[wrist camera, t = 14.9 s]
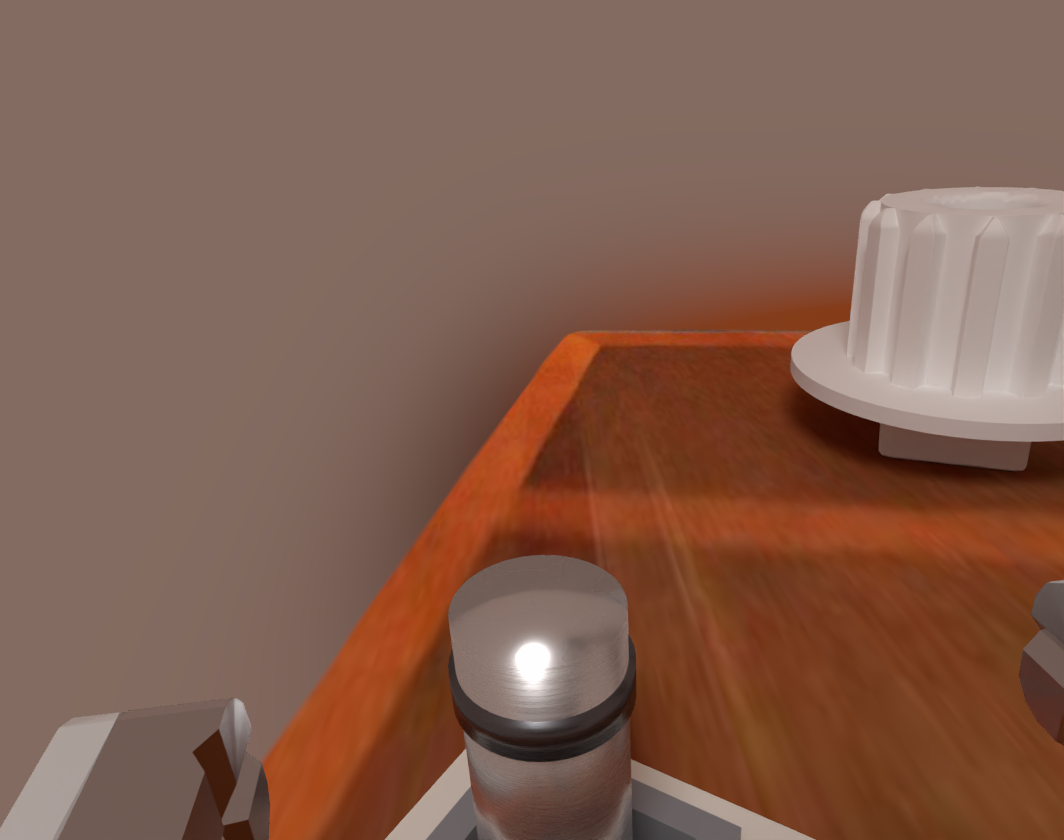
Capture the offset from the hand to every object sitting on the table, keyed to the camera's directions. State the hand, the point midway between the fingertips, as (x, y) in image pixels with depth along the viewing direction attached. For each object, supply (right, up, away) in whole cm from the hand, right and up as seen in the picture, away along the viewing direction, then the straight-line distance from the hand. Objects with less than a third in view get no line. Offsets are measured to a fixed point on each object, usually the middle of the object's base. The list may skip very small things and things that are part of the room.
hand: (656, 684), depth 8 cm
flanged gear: (+33, +1, +55) cm, 64 cm away
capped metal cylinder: (0, -15, +19) cm, 25 cm away
